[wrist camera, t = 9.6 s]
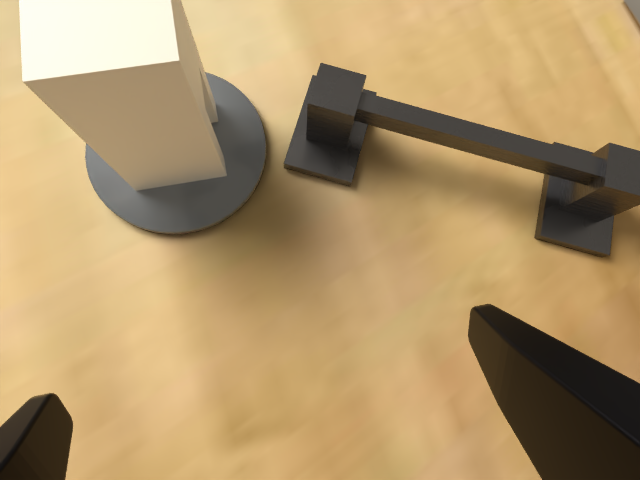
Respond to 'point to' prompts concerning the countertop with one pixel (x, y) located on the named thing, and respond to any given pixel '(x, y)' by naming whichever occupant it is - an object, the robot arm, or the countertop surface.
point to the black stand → (551, 159)
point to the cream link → (125, 85)
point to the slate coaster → (198, 196)
